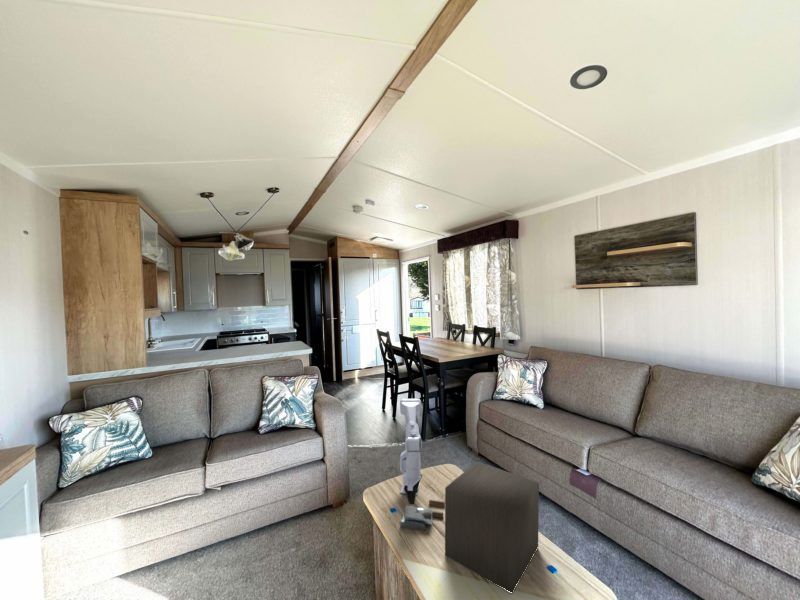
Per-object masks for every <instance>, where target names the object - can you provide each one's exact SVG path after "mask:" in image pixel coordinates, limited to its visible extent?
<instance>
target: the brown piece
mask: <svg viewBox="0 0 800 600" xmlns="http://www.w3.org/2000/svg"><path fill="white" fill-rule="evenodd" d="M428 505H429V506H435V507H443V508H445V500H435V499H428ZM433 517H434V518H440V519H443V518H444V511H437V510H433V516H432V518H433Z"/></svg>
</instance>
